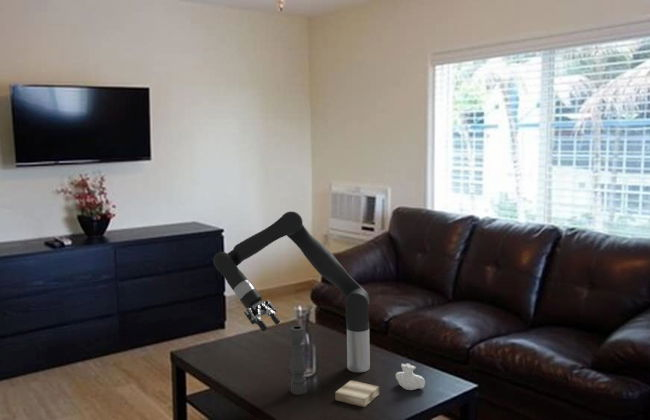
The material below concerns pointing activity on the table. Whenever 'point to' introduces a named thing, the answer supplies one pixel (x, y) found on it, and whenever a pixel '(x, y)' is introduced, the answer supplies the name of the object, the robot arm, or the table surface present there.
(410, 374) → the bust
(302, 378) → the candle holder
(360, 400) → the birch plate
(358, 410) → the table surface
